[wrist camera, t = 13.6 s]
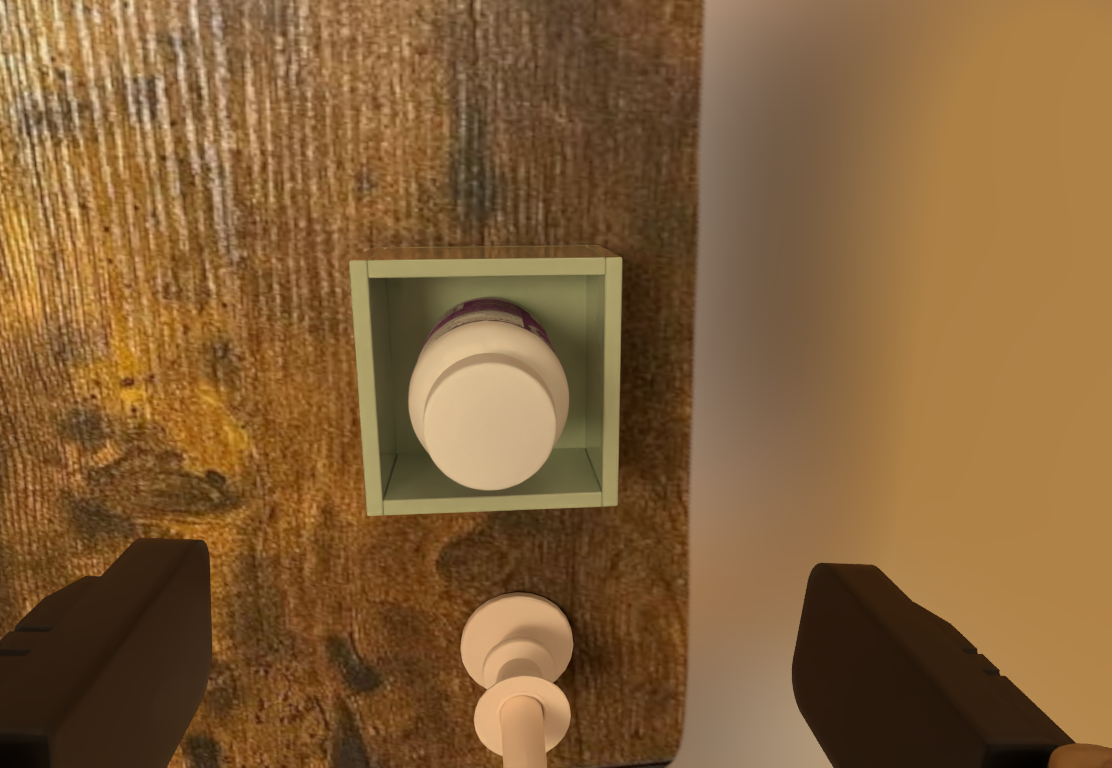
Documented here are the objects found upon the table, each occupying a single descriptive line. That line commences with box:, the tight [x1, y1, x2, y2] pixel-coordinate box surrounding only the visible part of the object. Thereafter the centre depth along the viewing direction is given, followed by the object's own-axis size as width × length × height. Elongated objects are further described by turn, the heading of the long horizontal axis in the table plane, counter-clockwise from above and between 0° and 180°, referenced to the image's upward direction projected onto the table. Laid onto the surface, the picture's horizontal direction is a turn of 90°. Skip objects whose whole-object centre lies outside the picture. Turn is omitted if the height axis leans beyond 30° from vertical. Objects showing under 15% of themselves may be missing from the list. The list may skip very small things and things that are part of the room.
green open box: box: [349, 245, 622, 516], centre depth 30 cm, size 9×9×6 cm
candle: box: [461, 592, 573, 768], centre depth 31 cm, size 5×5×10 cm
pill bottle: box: [408, 297, 569, 490], centre depth 27 cm, size 5×5×10 cm
